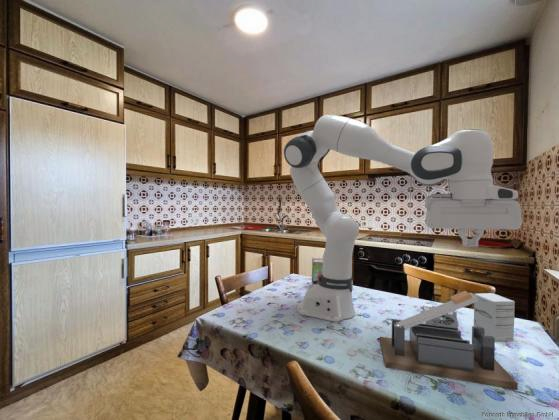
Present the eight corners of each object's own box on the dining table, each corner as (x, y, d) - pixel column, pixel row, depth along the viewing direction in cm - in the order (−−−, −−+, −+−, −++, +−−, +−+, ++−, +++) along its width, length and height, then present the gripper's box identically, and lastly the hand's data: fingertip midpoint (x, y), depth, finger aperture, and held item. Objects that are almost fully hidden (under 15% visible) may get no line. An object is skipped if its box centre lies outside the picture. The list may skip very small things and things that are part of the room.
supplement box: (472, 330, 84) (473, 293, 84) (492, 329, 85) (493, 292, 85) (493, 341, 77) (493, 301, 77) (515, 340, 78) (515, 300, 77)
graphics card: (420, 304, 99) (457, 310, 92) (420, 313, 99) (457, 320, 92) (416, 321, 85) (459, 329, 78) (416, 332, 85) (460, 341, 78)
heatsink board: (385, 367, 64) (385, 330, 64) (379, 341, 77) (380, 310, 77) (517, 389, 57) (518, 348, 57) (487, 356, 69) (487, 322, 69)
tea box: (313, 291, 121) (313, 261, 121) (311, 285, 132) (311, 257, 131) (344, 292, 121) (344, 262, 121) (340, 286, 131) (340, 258, 131)
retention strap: (397, 333, 68) (392, 325, 68) (395, 328, 71) (391, 320, 71) (480, 301, 63) (474, 292, 63) (474, 297, 66) (469, 289, 66)
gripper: (428, 193, 64) (428, 246, 64) (526, 191, 59) (526, 250, 59) (422, 194, 70) (422, 243, 71) (510, 192, 65) (509, 245, 65)
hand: (470, 246), depth 65 cm, fingers closed
